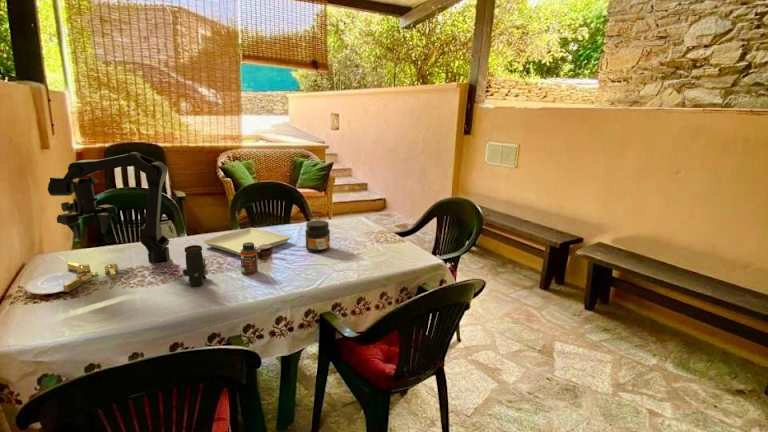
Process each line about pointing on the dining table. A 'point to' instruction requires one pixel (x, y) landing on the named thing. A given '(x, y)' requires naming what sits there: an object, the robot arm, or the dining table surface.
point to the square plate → (246, 239)
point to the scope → (195, 266)
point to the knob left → (77, 281)
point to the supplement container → (317, 236)
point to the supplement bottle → (249, 259)
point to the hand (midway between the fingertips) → (91, 236)
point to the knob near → (111, 270)
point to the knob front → (79, 267)
